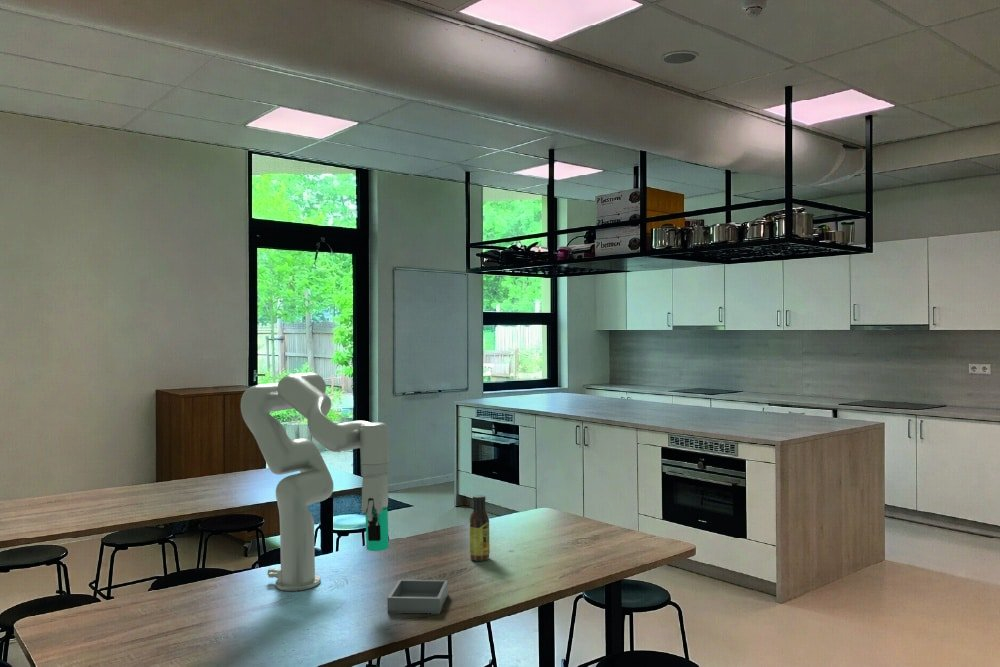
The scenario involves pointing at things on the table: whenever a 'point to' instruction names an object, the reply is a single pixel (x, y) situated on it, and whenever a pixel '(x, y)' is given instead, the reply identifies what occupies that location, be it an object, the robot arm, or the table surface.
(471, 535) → the sauce bottle
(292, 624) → the table surface
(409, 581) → the box
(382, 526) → the candle
